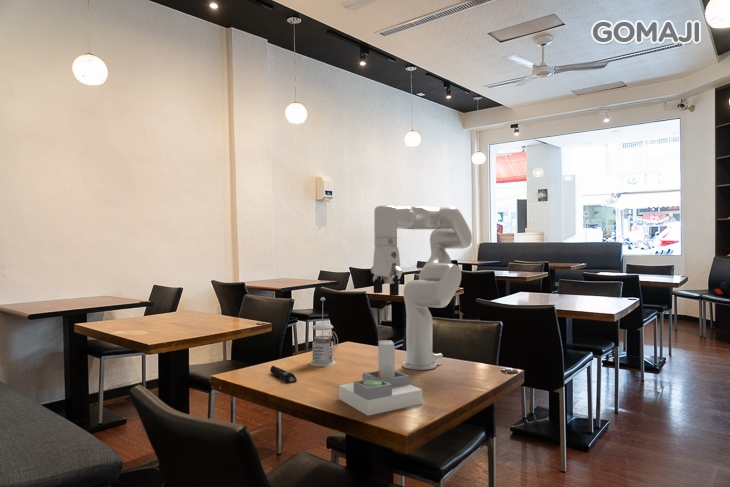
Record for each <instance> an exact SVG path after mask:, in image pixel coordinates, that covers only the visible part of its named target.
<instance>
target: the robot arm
mask: <svg viewBox="0 0 730 487" xmlns="http://www.w3.org/2000/svg"><path fill="white" fill-rule="evenodd" d="M373 214H374V217H373V218H374V220H373V222H374V224H373V225H374V229H373V230H374V237H373V238H374V243H373V244H374V251H373V263H372V264H373V265H372V266H371V268H370V272H371V277H372V282H373V294H381V293H383V280H382V279H383V278H388V279H389V282H390V283H389V296H390V297H395V296H397V297H398V296H399V289H400V283H401V281H400V280H401V279H402V275H403V270H402V269H401V260H400V252H399V247H398V229H399V230H400V229H402V230H403V229H404V230H432V232H431V233H430V235H429V244H430V253H431V254H430V257H429V259H428V260H427V261H426V262H425V264H424V266H423V267H422V268H421V270H420V272H419V275H418V279H414V280H410V281H408V282H407V283H406V284H405V285H404V287H403V299H404V300H403V301H404V305H405V314H406V316H405V317H406V318H405V319H406V320H405V321H406V323H405V324H406V325H405V326H406V332H405V334H406V342H405V344H406V360H403V361H402V362H401V365H402V367H403V368H405V369H408V370H416V371H427V370H433V369H436V368H437V367H438V364H437V362H436V360H441V359H442V358H443V356H444V355H443V354H442V352H439V353H436V352H435V353H434V352H433V316H432V314H431V311H430V310H429V308H437V309H439V308H440V309H441V308H446V307H447V306H448V304H450V302H451V300H452V299H453V297H454V296H455V294H456V292H457V290H458V289H459V287H460V285H461V281H462V271H461V268H460V267H459V266H458V265H457V264H455V263H452V259H451V257H450V255H449V254H448V252H447V251H446V249H451V250H452V249H453V250H455V249H456V250H457V249H461V250H462V249H463V250H464V249H467V248H468V247H470V245H471V244H472V241H473V236H472V232H471V229H470V228H469V225H468V223H467V221H466V219H465V218H464V215H463V214H462V213H461V212H460V210H459V209H458V208H457V207H455V206H443V207H442V206H440V207H439V206H438V207H434V206H420V205H419V206H405V205H404V206H403V205H400V206H394V205H378V206H376V207H375V208H374V212H373Z"/></svg>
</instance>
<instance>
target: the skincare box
mask: <svg viewBox="0 0 730 487" xmlns="http://www.w3.org/2000/svg"><path fill="white" fill-rule="evenodd" d="M377 342H378V344H377V346H378V351H377V352H378V354H377V356H378V358H377V359H378V360H377V361H378V362H377V364H378V370H379V378H380V379H388V378H393V377H395V370H396V369H395V343H394V341H393V340H387V339H385V340H383V339H382V340H378V341H377Z"/></svg>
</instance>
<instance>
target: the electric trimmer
mask: <svg viewBox="0 0 730 487" xmlns="http://www.w3.org/2000/svg"><path fill="white" fill-rule="evenodd" d="M270 373H271V374H272V375H273V376H274V377H275V378H278V379H282V380H283V381H285V383H286V384H288V385H289V384H295V383H297V382H298V380H297V377H296V376H295V374H294V373H293V372H288V371H286V370H284V369H283V368H280V367H277V366H275V365H271V367H270Z"/></svg>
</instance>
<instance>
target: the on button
mask: <svg viewBox="0 0 730 487" xmlns="http://www.w3.org/2000/svg"><path fill="white" fill-rule="evenodd" d="M363 385H365V386H367V387H374V386H380V385H382V382H381V381H379V380H366V381H364V382H363Z"/></svg>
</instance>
